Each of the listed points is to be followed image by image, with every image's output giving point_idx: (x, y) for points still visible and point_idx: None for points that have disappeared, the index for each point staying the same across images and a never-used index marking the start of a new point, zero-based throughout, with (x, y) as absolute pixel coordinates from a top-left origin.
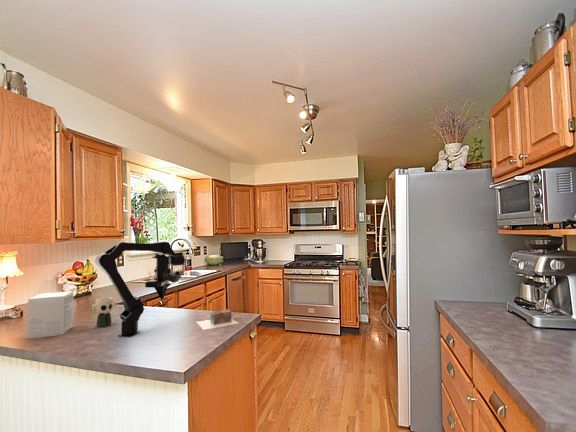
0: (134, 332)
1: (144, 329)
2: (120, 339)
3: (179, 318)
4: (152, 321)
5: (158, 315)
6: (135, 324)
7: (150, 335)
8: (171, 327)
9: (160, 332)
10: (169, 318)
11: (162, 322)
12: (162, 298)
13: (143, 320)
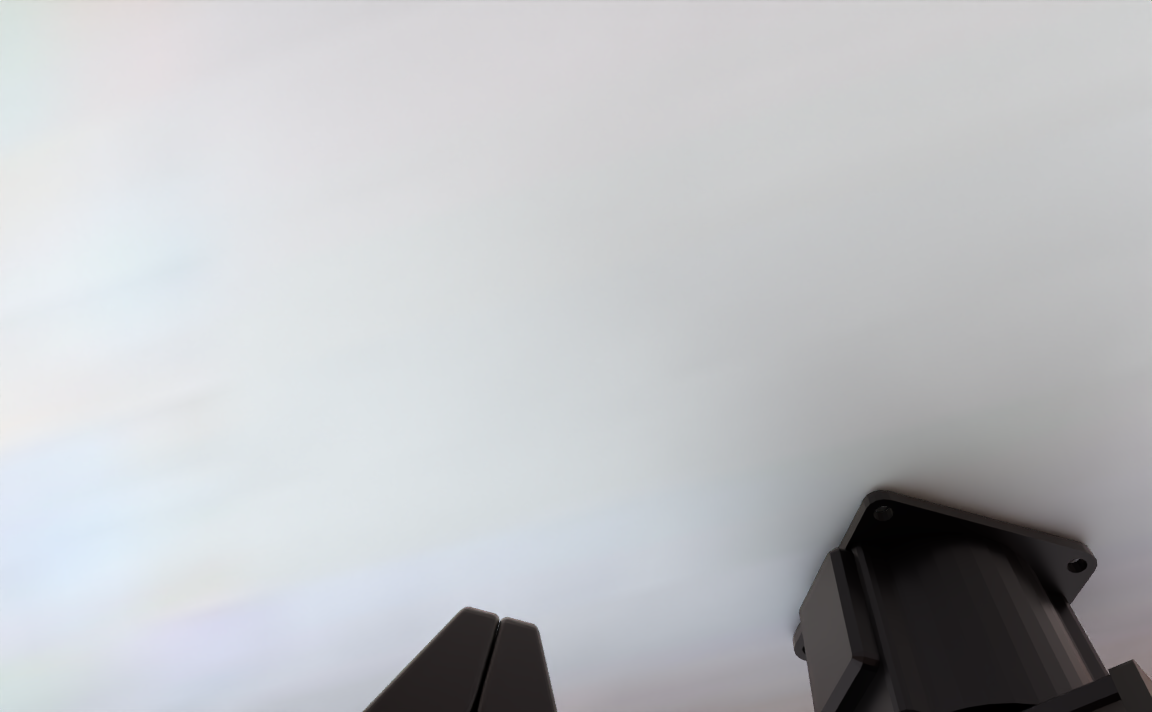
0: (1003, 551)
1: (738, 468)
2: (1147, 632)
3: (102, 38)
4: (319, 473)
5: (2, 476)
6: (1027, 640)
7: (1142, 276)
8: (725, 10)
9: (1018, 143)
10: (131, 249)
11: (374, 301)
12: (542, 650)
13: (274, 600)
